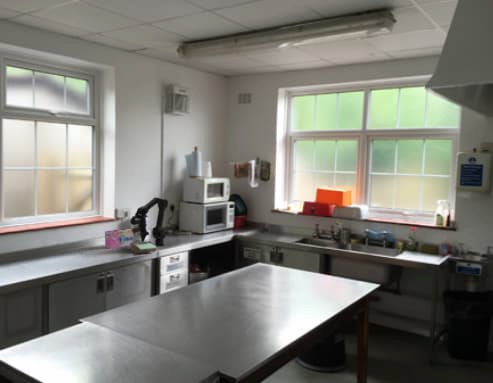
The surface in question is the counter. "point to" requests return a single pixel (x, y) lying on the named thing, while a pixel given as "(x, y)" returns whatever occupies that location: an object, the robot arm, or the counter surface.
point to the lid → (145, 245)
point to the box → (137, 250)
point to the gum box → (118, 238)
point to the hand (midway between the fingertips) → (142, 242)
